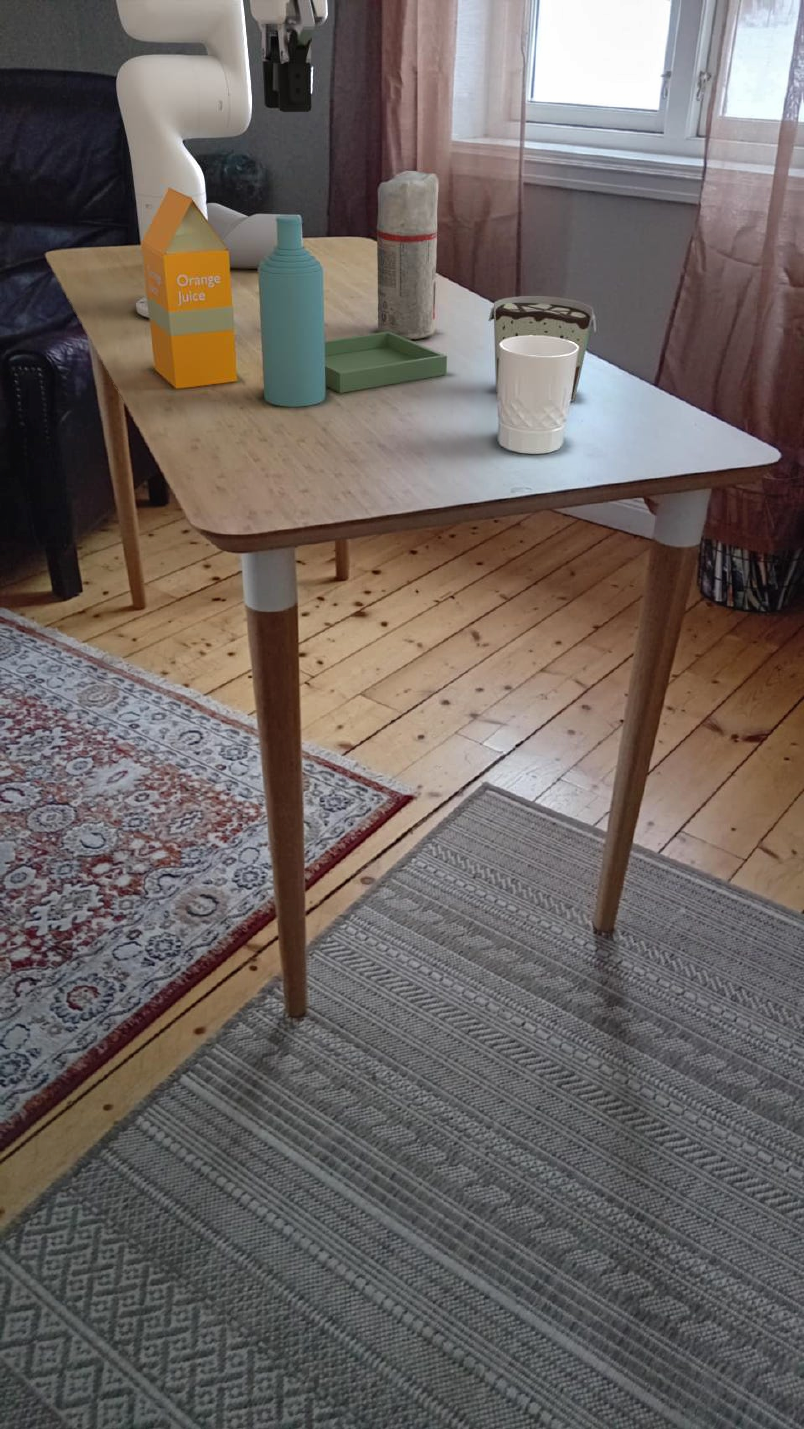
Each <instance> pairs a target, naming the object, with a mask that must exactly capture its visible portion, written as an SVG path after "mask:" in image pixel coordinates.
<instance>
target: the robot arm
mask: <svg viewBox="0 0 804 1429" xmlns="http://www.w3.org/2000/svg"><path fill="white" fill-rule="evenodd" d="M115 2H116V7H117V8H116V9H117V12H118V16H119V20H120V23H121V26H122V28H123V30H124V31H125V33H126V34H127V35H128V36H129V37H131V38H132V39H135V40H136V41H137V40H138V41H140V42H148V43H169V44H170V43H172V44H174V43H175V44H177V43H178V44H201V45H203V46H204V47H205V49H206V53H207V55H205V54H204V55H202V54H201V55H200V54H199V55H198V54H195V55H191V54H190V55H189V54H188V55H187V54H145V55H144V54H143V55H139V56H134V57H132V58H130V59H128V60H127V61H125V62H124V63H123V64H122V65H121V67H120V68H119V70H118V72H117V76H116V82H115V85H116V86H115V87H116V88H115V89H116V96H117V101H118V106H119V110H120V114H121V118H122V122H123V126H124V130H125V135H126V139H127V144H128V149H129V150H128V151H129V156H130V161H131V169H132V170H131V171H132V177H133V178H132V179H133V186H134V195H135V204H136V205H135V206H136V213H137V223H138V232H139V241H140V243H141V241H143V239H144V237H145V235H146V233H147V231H148V229H149V227H150V225H151V223H152V221H153V219H154V217H155V215H156V213H157V211H158V209H159V207H160V205H161V203H162V201H163V199H164V197H165V195H166V193H167V191H168V189H169V188H171V189H173V190H175V191H177V192H179V193H182V194H184V195H186V196H188V197H190V198H192V199H193V201H194V202H195V204H196V205H197V206H198V208H199V209H200V211H201V212H202V213H203V215H204V216H205V218H206V219H207V221H208V217H207V192H206V181H205V177H204V173H203V171H202V168H201V166H200V165H199V164H198V162H197V160H196V159H195V158H194V157H193V155H192V154H191V153H190V151H189V150H188V149H187V148H186V147H185V145H184V142H183V141H185V140H193V139H216V138H217V139H218V138H219V139H220V138H232V137H237V136H240V135H242V134H244V133H245V132H246V131H247V129H248V127H249V126H250V123H251V120H252V114H253V113H252V110H253V98H252V83H251V73H250V60H249V51H248V38H247V28H246V17H245V8H244V0H115ZM249 7H250V13H251V16H252V18H254V20H255V21H256V22H257V26H258V28H259V30H260V34H261V35H260V38H261V58H262V72H263V73H262V80H263V99H264V106H265V107H266V108H268V109H278V110H279V111H280V112H283V113H308V112H311V110H312V94H311V66H312V64H311V63H312V49H311V47H312V46H311V43H312V42H313V41H312V40H313V39H312V38H313V37H312V36H313V34H314V32H315V26H322V25H323V24H324V23H325V22H326V20H327V18H328V0H249ZM273 63H282V64H277V77H278V91H275V90H273ZM168 187H169V188H168ZM140 250H141V252H142V246H141V245H140ZM141 259H142V260H141V261H142V262H143V255H142V254H141ZM142 269H143V271H144V264H143V263H142ZM143 278H144V280H145V274H144V273H143ZM144 287H145V289H146V283H145V282H144ZM135 307H136V312H137V314H139V315H140V316H142V317H144V318H148V319H149V314H148V305H147V292H146V291H145V297H143V298H141V299H139V300H138V301H137V302H136V303H135Z"/></svg>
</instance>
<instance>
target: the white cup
mask: <svg viewBox="0 0 804 1429" xmlns="http://www.w3.org/2000/svg"><path fill="white" fill-rule="evenodd" d="M578 351H579V347H578V346H577V345H576V344H575V343H573V342H571V341H568V340H565V339H561V338H556V337H549V336H535V335H528V336H516V337H510V338H507V339H504V340H502V341H501V342H500V343H499V368H498V392H497V418H498V420H497V421H498V422H497V441H498V443H499V446H501V447H502V448H504V449H506V450H508V451H512V452H515V453H519V454H530V455H531V454H532V455H539V454H540V455H541V454H549V453H552V452H556V451H559V450H560V448H562V446H563V444H564V438H565V433H566V432H565V431H566V424H567V420H568V417H569V412H570V405H571V402H572V401H571V396H572V390H573V383H574V376H575V370H576V363H577V357H578Z"/></svg>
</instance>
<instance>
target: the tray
mask: <svg viewBox="0 0 804 1429" xmlns="http://www.w3.org/2000/svg"><path fill="white" fill-rule="evenodd" d="M324 344H325V387H328V388H330V389H332V390H333V391H335V392H337V393H339V394H342V393H349V392H354V391H361V390H366V389H371V388H377V387H383V386H390V385H395V384H401V383H406V382H412V381H417V380H423V379H429V378H430V379H431V378H435V377H440V376H445V375H447V366H448V365H447V364H448V355H446V354H443V353H442V352H439V351H437V350H434V349H431V348H429V347H427V346H425V345H422V344H420V343H417V342H415V341H412V340H411V339H406V338H403V337H401V336H398V335H396V334H394V333H391V332H389V331H387V332H381V333H379V332H375V333H367V334H362V335H361V334H360V335H353V336H347V337H341V338H334V339H326V340H324Z"/></svg>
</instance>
